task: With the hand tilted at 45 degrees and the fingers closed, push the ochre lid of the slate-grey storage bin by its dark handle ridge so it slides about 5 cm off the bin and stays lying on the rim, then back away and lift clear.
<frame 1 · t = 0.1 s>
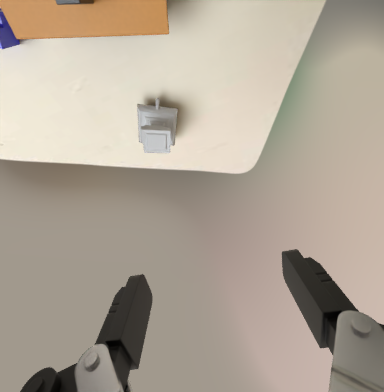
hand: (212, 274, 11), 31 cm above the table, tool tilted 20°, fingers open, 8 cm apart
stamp: (158, 119, 37), on the table
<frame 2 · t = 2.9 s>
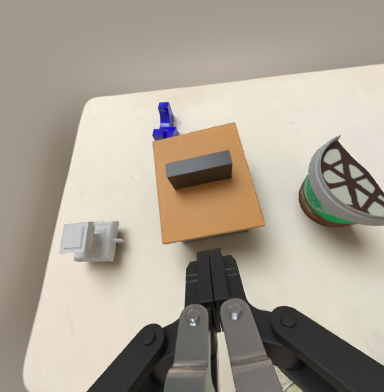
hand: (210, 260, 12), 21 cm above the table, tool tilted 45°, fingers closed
food container: (313, 206, 33), on the table
cable holder: (170, 132, 42), on the table
lid: (202, 180, 28), point 8 cm above the table, touching bin
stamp: (106, 243, 36), on the table
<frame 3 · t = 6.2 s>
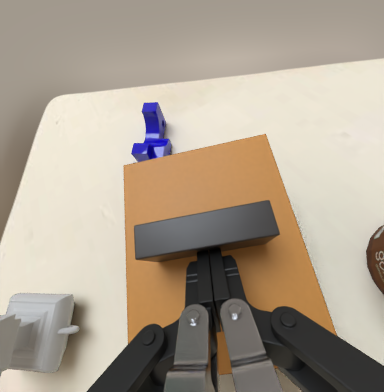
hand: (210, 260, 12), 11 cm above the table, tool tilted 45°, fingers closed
cable holder: (160, 145, 29), on the table
lid: (208, 241, 15), point 8 cm above the table, touching gripper
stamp: (57, 322, 23), on the table
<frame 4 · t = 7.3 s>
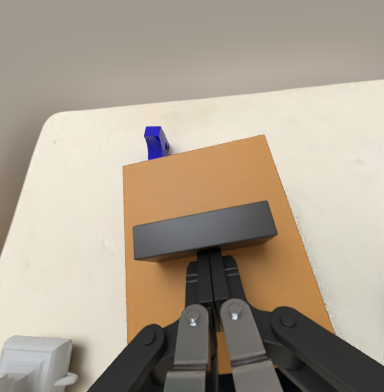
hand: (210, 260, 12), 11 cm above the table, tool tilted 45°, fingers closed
bin: (223, 293, 21), on the table
cable holder: (163, 169, 28), on the table
lid: (207, 241, 16), point 8 cm above the table, touching bin, gripper
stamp: (54, 365, 22), on the table
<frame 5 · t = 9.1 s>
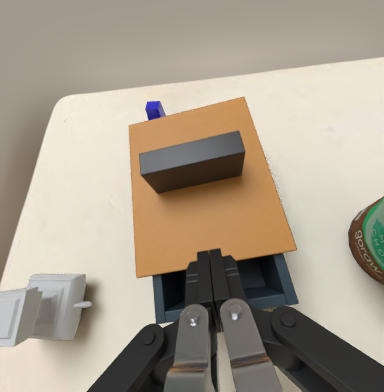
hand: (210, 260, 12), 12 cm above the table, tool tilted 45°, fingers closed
food container: (371, 255, 22), on the table
bin: (213, 238, 25), on the table
cable holder: (162, 141, 32), on the table
lid: (198, 179, 19), point 8 cm above the table, touching bin
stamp: (70, 301, 25), on the table
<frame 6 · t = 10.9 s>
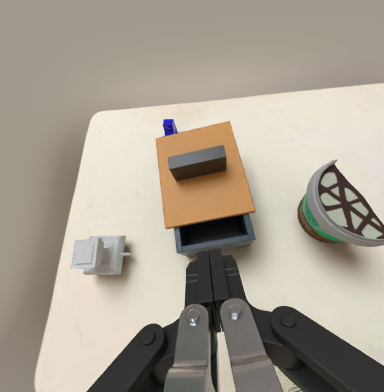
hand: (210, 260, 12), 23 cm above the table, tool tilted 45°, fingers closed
food container: (311, 222, 34), on the table
bin: (210, 213, 37), on the table
cable holder: (174, 147, 44), on the table
lid: (200, 172, 32), point 8 cm above the table, touching bin
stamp: (113, 255, 38), on the table
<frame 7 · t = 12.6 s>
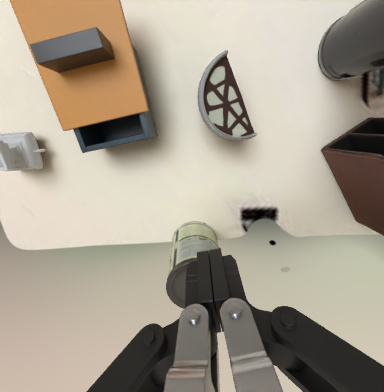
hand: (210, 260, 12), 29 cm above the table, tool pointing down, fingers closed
food container: (213, 111, 37), on the table
bin: (118, 102, 36), on the table
letter holder: (360, 173, 41), on the table
coffee can: (194, 240, 46), on the table
lid: (86, 59, 27), point 8 cm above the table, touching bin
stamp: (30, 150, 39), on the table
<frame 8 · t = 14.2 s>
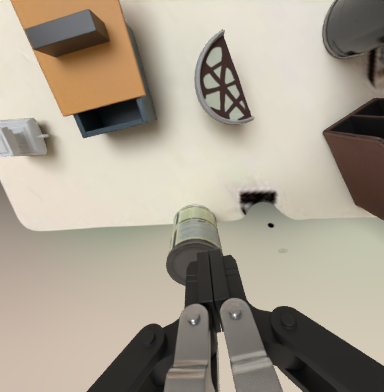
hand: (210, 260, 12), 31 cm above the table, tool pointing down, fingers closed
food container: (212, 93, 36), on the table
bin: (116, 86, 36), on the table
letter holder: (362, 156, 41), on the table
coffee can: (195, 222, 48), on the table
lid: (82, 42, 27), point 8 cm above the table, touching bin
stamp: (34, 135, 40), on the table
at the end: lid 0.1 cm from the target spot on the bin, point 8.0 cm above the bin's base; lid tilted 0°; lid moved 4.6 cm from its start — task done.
